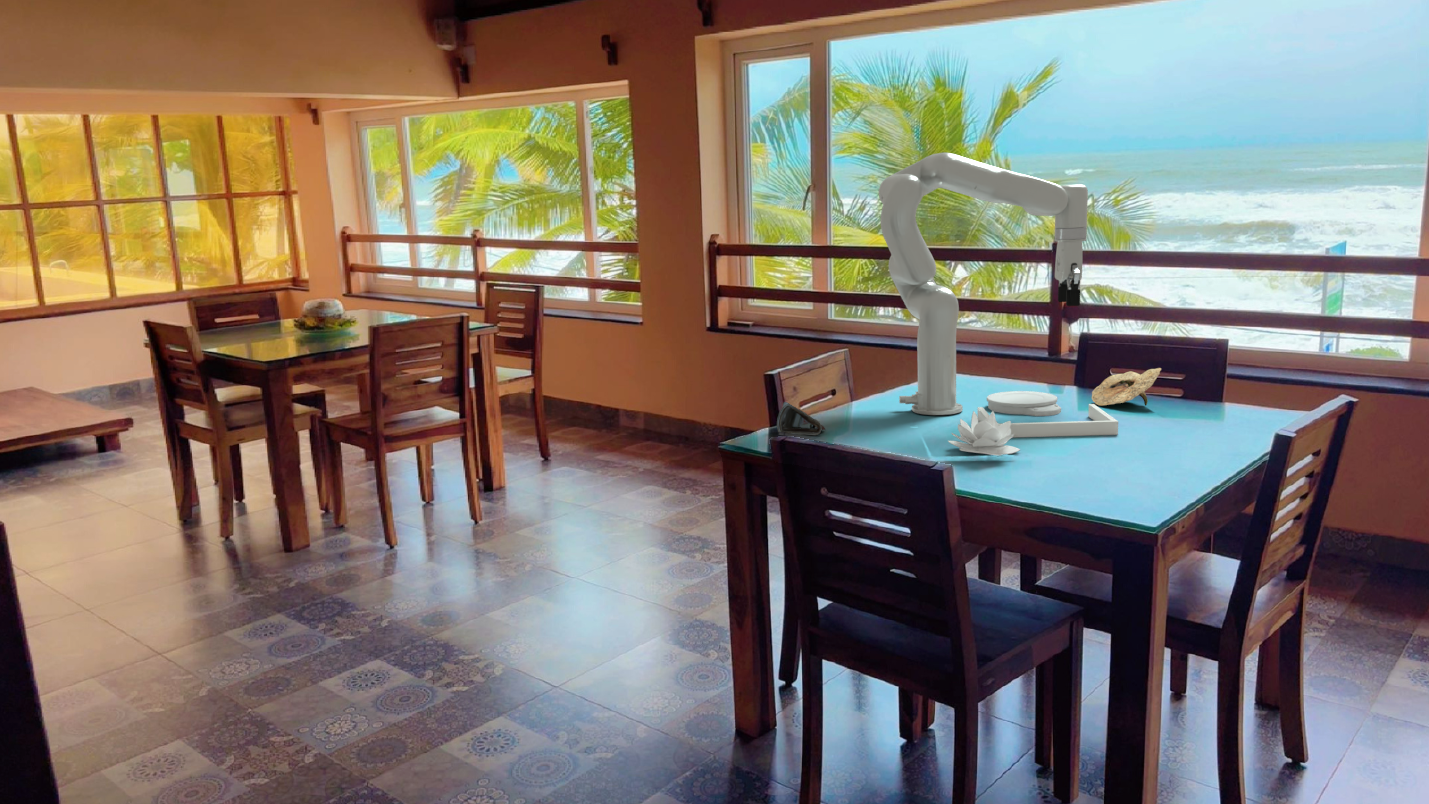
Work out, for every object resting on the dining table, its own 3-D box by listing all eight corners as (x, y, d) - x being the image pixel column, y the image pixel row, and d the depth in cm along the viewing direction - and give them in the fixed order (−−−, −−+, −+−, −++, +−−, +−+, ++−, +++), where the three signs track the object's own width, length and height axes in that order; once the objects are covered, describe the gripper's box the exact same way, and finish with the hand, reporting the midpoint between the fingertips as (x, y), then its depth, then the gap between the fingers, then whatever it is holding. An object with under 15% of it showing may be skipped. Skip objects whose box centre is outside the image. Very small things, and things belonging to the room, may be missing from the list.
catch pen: (992, 437, 237) (992, 424, 237) (977, 419, 257) (977, 407, 256) (1118, 434, 235) (1118, 421, 234) (1093, 416, 255) (1093, 403, 254)
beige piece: (1089, 427, 269) (1076, 401, 268) (1112, 403, 278) (1100, 377, 277) (1154, 413, 255) (1141, 385, 254) (1177, 388, 264) (1164, 361, 263)
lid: (1024, 420, 255) (1024, 408, 254) (972, 407, 273) (972, 396, 272) (1080, 412, 261) (1080, 400, 261) (1025, 399, 279) (1025, 388, 279)
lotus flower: (1007, 462, 216) (1008, 420, 214) (937, 456, 224) (937, 415, 222) (1028, 447, 228) (1028, 407, 226) (960, 441, 236) (960, 403, 234)
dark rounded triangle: (837, 430, 250) (808, 393, 255) (824, 428, 244) (794, 390, 249) (810, 457, 253) (782, 420, 259) (796, 455, 247) (767, 418, 253)
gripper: (1048, 234, 273) (1046, 300, 276) (1062, 236, 256) (1060, 307, 259) (1078, 233, 272) (1076, 300, 275) (1094, 236, 255) (1092, 306, 259)
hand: (1068, 303), depth 267 cm, fingers open, 9 cm apart
